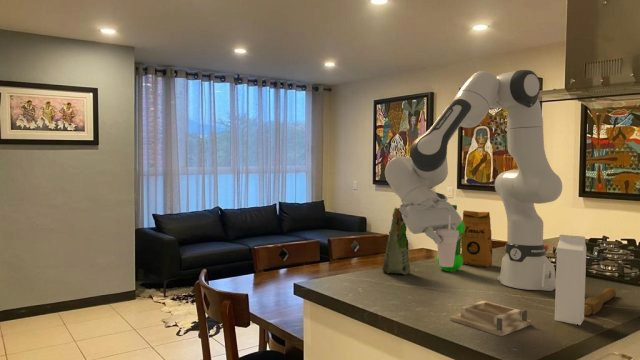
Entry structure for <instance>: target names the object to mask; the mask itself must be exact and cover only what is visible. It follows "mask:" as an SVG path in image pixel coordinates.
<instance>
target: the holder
mask: <svg viewBox="0 0 640 360" xmlns="http://www.w3.org/2000/svg"><path fill="white" fill-rule="evenodd" d="M449 318H450V319H449V320H450V321H452V322H454V323H458V324H461V325H464V326H467V327H470V328H473V329H477V330H480V331H483V332H486V333H489V334H492V335H496V336H499V337H503V336H506V335H508V334H510V333H514V332H516V331H519V330H522V329H523V328H526V327H530V326H532V320H530V319H528V310H527V309H522V310H521V309H518V308H513V307H510V306H506V305H502V304H498V303H494V302H490V301H486V300H481V301H478V302H474V303H471V304H467V305H464V306H461V307H460V313H458V314H454V315H450V317H449Z"/></svg>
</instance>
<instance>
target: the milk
mask: <svg viewBox="0 0 640 360" xmlns="http://www.w3.org/2000/svg"><path fill="white" fill-rule="evenodd" d="M558 240H559V241H558V243H557V246H556V261H555V263H556V265H555V266H556V267H555V269H556V270H555V278H556V288H555V294H554V295H555V298H554V299H555V300H554V321H557V322H560V323H561V322H562V323H568V324H572V325H577V324H578V326H581V325H582V324H583V322H584V320H585V315H584V303H585V300H586V299H585V296H586V274H587V273H586V270H587V266H586V265H587V245H586V237H585V236H580V235H572V234H571V235H569V234H559V237H558Z"/></svg>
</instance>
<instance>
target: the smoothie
mask: <svg viewBox="0 0 640 360" xmlns="http://www.w3.org/2000/svg"><path fill="white" fill-rule="evenodd" d="M450 224H451V215H449V221H448V229H437V230H435V231H434V232H435V233H436V234H437V235H440V236H441V237H442V238H443V241H442V242H441V243H440V244H436V245H437V256H439V264H438V266H439V265H440V266H443V267H453V264H454V258H455V251H456V245H457V238H458V235H459V231H458V230H452V229H450ZM440 266H439V267H440Z"/></svg>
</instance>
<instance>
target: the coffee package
mask: <svg viewBox="0 0 640 360" xmlns="http://www.w3.org/2000/svg"><path fill="white" fill-rule="evenodd" d="M462 221H463V222H464V225H465V230H464V233H463V234H462V235H461V256H462V258H463V264H465V265H469V266H476V267H485V268H489V267H491V266H493V248H492V245H493V244H492V227H491V216H490V212H489V211H476V210H475V211H474V210H473V211H472V210H463V212H462Z"/></svg>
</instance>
